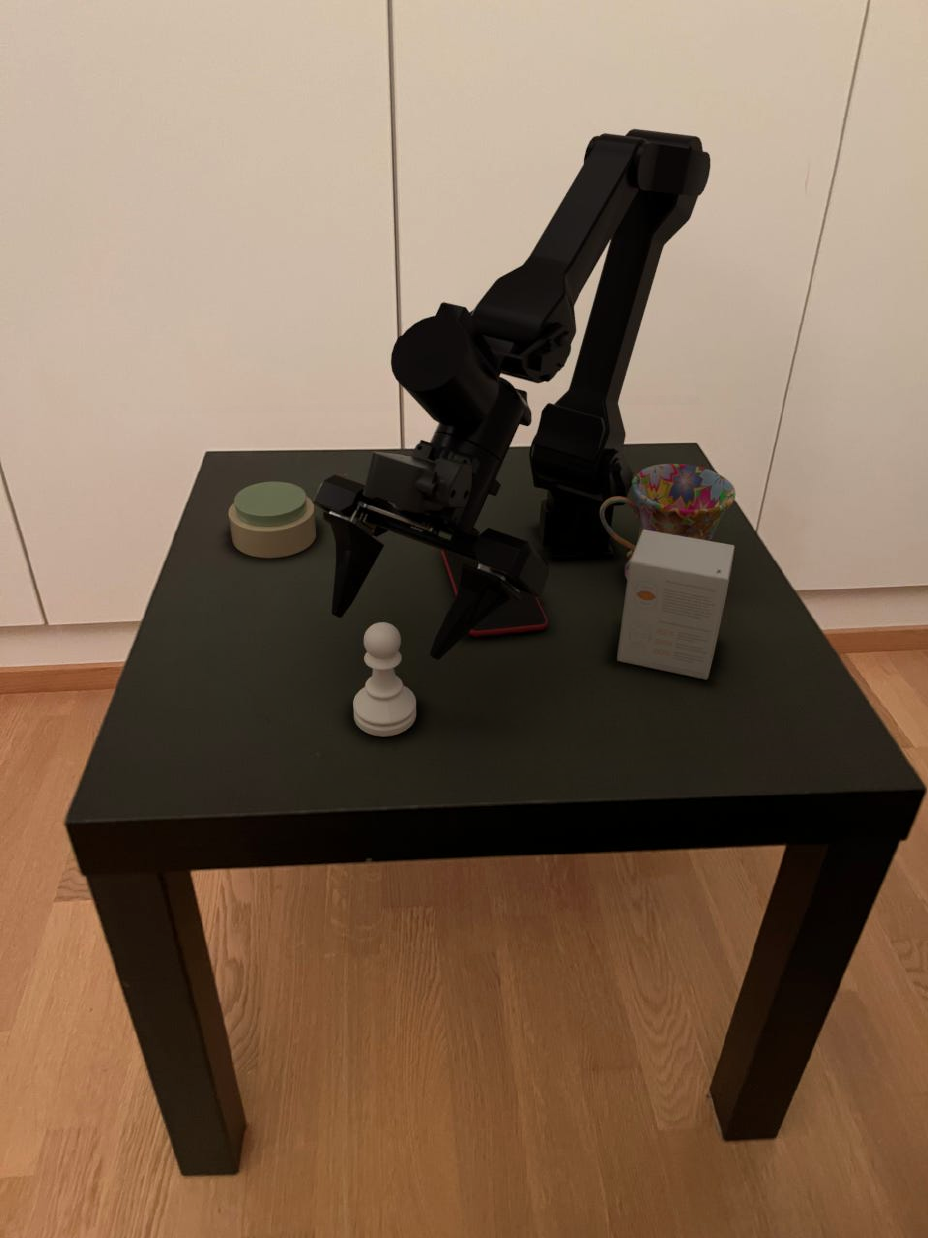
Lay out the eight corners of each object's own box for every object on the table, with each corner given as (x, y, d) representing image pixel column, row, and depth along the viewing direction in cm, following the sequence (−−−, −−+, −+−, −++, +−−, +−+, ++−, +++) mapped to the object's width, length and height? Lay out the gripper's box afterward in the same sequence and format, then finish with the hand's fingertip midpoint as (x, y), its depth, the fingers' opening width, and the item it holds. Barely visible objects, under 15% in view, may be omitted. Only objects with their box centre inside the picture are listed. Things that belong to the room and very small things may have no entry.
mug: (704, 558, 96) (723, 463, 90) (724, 611, 89) (746, 512, 83) (587, 556, 96) (597, 461, 90) (596, 608, 89) (609, 509, 83)
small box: (715, 645, 85) (738, 544, 78) (707, 682, 80) (730, 579, 74) (627, 626, 87) (642, 526, 81) (614, 662, 82) (629, 559, 76)
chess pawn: (349, 701, 77) (343, 611, 72) (409, 692, 79) (408, 603, 73) (358, 742, 74) (353, 650, 68) (422, 732, 75) (421, 641, 69)
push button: (316, 514, 102) (313, 476, 100) (316, 556, 95) (312, 517, 93) (235, 517, 101) (230, 479, 99) (228, 560, 94) (223, 521, 92)
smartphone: (469, 633, 84) (439, 544, 96) (469, 641, 84) (439, 552, 96) (550, 624, 85) (510, 538, 97) (549, 632, 86) (510, 545, 97)
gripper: (320, 374, 69) (230, 567, 68) (542, 438, 61) (444, 659, 60) (387, 436, 79) (309, 606, 78) (585, 499, 71) (502, 689, 70)
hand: (383, 636), depth 72 cm, fingers open, 9 cm apart
